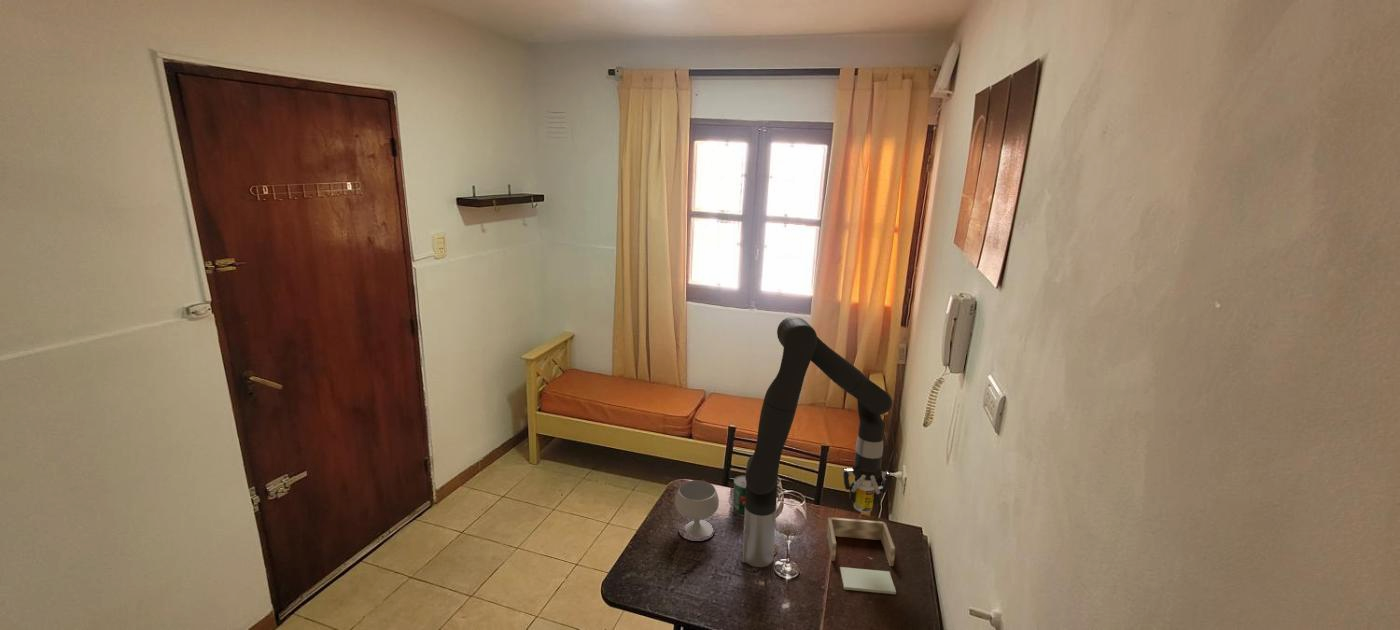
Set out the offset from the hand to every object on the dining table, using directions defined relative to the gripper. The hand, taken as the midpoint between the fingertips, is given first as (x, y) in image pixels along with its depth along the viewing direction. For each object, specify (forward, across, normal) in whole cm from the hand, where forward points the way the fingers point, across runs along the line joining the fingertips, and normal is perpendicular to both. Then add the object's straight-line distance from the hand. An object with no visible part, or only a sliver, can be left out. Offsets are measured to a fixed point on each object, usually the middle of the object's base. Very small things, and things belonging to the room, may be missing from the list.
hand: (863, 502), depth 157 cm
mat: (+17, 0, -13) cm, 21 cm away
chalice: (+18, -51, +4) cm, 54 cm away
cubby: (+17, 0, +1) cm, 17 cm away
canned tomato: (+18, -36, +18) cm, 44 cm away
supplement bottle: (+2, 0, 0) cm, 2 cm away
